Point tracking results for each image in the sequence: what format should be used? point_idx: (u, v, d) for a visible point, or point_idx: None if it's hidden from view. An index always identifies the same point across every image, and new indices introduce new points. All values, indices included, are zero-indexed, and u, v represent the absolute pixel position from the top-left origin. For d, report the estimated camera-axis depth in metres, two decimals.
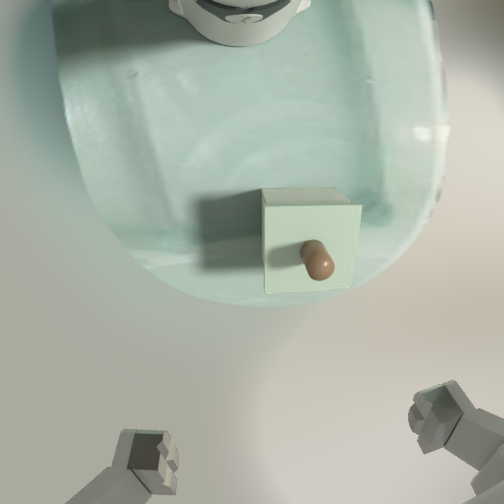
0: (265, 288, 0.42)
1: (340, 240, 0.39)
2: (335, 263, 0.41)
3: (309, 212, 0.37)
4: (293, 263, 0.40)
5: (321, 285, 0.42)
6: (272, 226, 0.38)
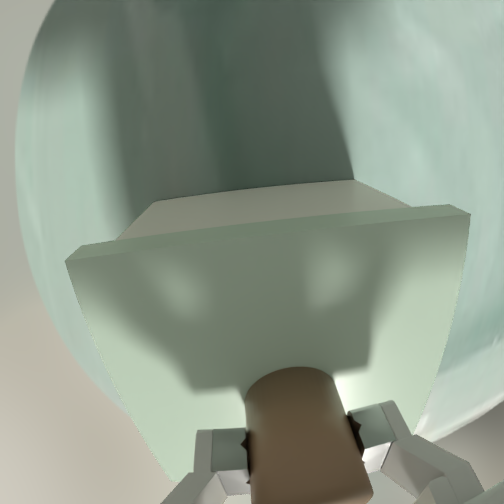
0: (89, 260, 0.08)
1: None
2: None
3: (425, 356, 0.10)
4: (234, 355, 0.09)
5: (157, 435, 0.11)
6: (404, 252, 0.08)
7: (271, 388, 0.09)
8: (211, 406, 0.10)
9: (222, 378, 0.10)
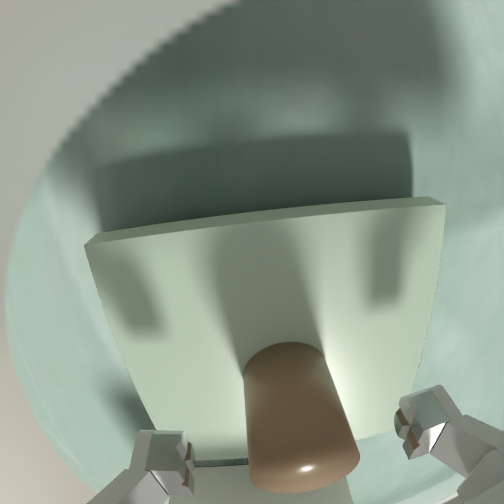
0: (106, 244, 0.09)
1: None
2: (244, 428, 0.13)
3: (409, 336, 0.11)
4: (234, 330, 0.10)
5: (162, 411, 0.12)
6: (383, 237, 0.10)
7: (267, 360, 0.10)
8: (212, 380, 0.11)
9: (223, 352, 0.11)
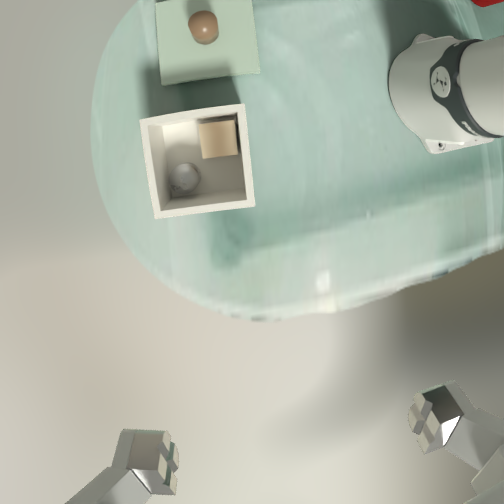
0: (161, 2, 0.29)
1: (219, 57, 0.33)
2: (191, 58, 0.32)
3: (247, 24, 0.31)
4: None
5: (164, 52, 0.32)
6: None
7: None
8: (183, 36, 0.31)
9: (187, 26, 0.31)
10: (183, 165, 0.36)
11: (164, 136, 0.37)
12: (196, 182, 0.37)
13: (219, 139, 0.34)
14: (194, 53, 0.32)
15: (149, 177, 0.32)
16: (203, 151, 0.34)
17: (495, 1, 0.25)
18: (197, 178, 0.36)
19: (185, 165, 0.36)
